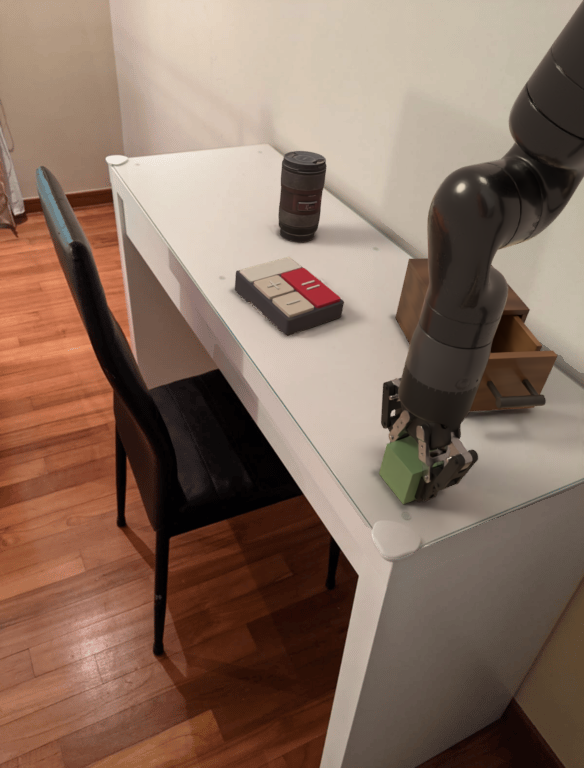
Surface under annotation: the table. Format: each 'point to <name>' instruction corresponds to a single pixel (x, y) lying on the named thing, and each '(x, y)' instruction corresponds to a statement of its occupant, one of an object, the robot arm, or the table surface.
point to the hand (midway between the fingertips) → (408, 479)
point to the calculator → (288, 295)
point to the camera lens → (301, 195)
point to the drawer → (514, 369)
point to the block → (402, 468)
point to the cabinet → (416, 292)
